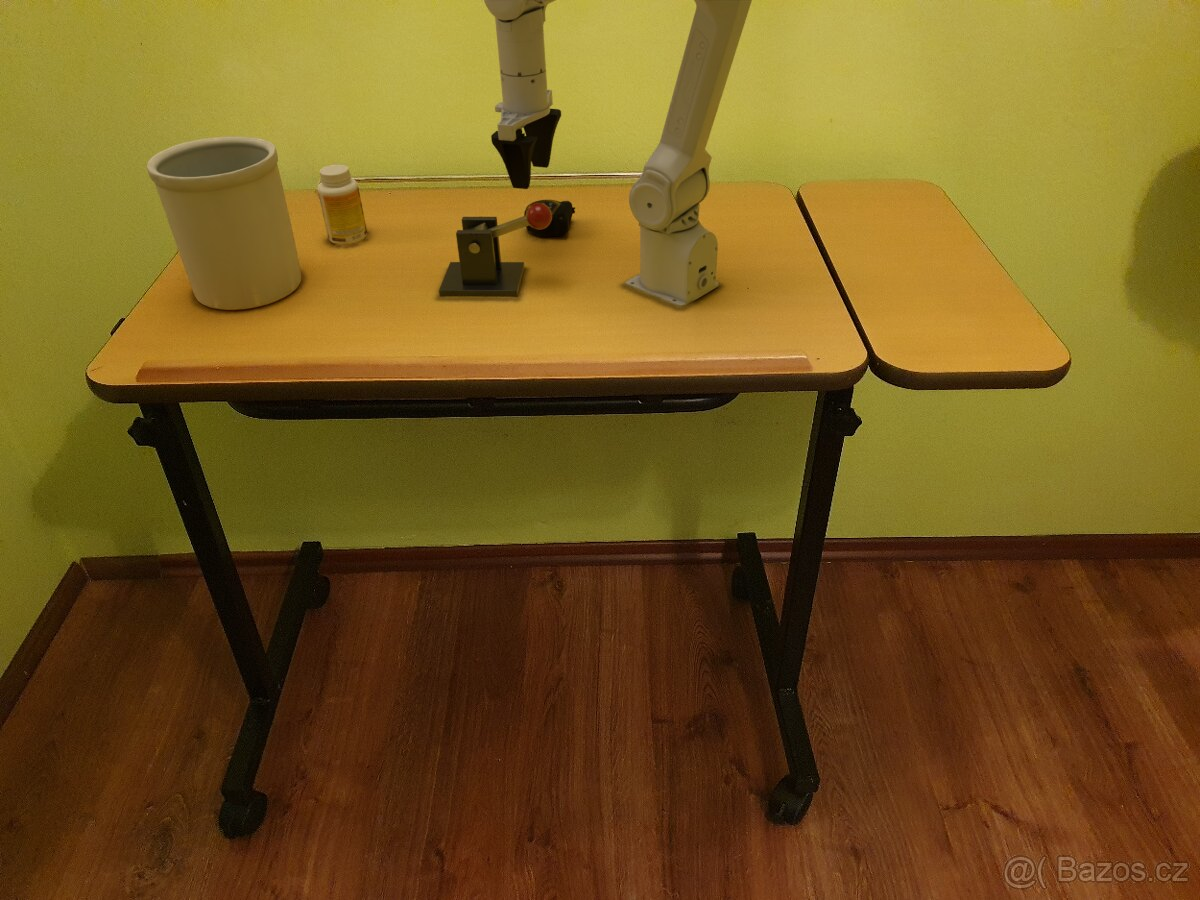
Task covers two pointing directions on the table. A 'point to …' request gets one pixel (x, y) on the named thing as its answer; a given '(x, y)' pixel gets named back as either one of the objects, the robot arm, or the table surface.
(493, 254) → the switch bracket
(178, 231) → the utensil holder
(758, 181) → the table surface
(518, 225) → the lever
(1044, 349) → the table surface
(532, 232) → the tape measure
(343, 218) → the supplement bottle
